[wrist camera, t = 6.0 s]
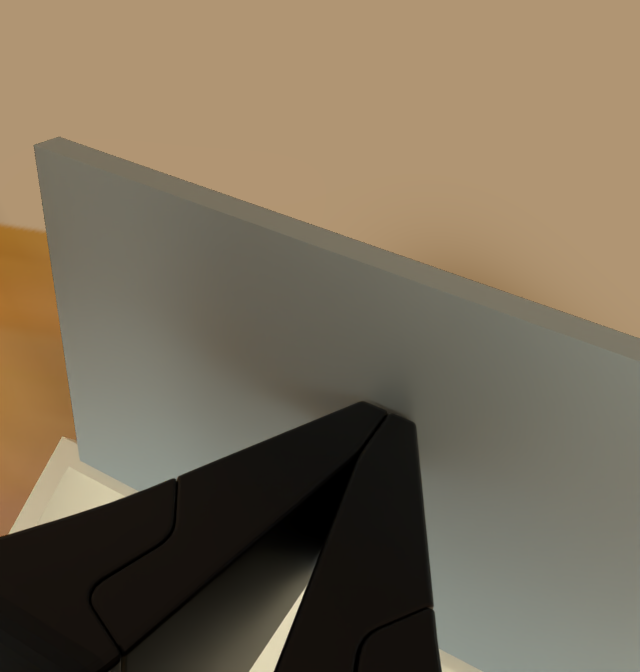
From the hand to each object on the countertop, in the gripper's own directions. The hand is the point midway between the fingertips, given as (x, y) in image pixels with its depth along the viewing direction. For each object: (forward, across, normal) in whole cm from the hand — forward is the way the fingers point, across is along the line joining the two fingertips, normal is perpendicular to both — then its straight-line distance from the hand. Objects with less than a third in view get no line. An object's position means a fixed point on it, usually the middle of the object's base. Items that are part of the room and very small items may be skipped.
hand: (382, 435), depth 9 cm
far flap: (0, 0, +1) cm, 1 cm away
